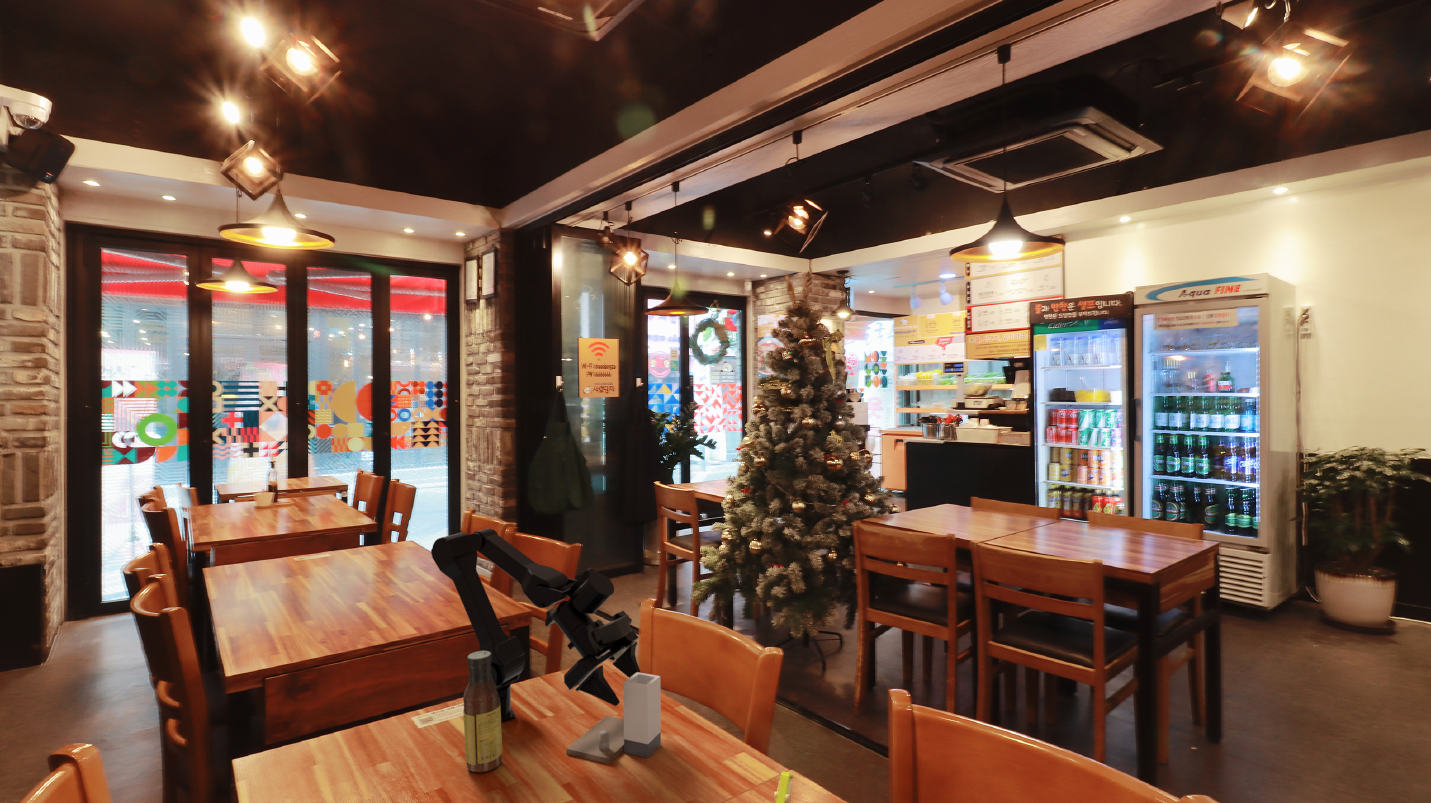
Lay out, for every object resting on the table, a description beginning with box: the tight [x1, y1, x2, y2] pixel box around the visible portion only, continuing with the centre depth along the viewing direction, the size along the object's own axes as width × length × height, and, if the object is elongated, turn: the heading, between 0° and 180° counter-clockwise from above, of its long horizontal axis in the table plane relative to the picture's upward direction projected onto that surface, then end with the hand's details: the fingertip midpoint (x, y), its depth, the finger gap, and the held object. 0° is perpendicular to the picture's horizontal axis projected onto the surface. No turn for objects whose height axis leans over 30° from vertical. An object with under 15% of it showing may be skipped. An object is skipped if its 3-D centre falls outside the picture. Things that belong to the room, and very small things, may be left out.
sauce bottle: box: [462, 651, 503, 774], centre depth 123 cm, size 6×6×20 cm
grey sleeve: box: [623, 672, 662, 759], centre depth 128 cm, size 5×5×13 cm
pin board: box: [565, 715, 624, 765], centre depth 131 cm, size 9×14×4 cm, turn 157°
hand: (630, 694), depth 129 cm, fingers open, 9 cm apart
